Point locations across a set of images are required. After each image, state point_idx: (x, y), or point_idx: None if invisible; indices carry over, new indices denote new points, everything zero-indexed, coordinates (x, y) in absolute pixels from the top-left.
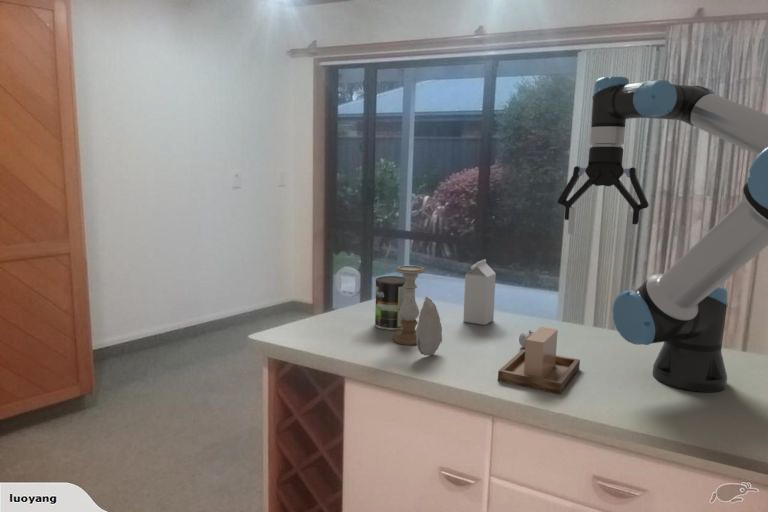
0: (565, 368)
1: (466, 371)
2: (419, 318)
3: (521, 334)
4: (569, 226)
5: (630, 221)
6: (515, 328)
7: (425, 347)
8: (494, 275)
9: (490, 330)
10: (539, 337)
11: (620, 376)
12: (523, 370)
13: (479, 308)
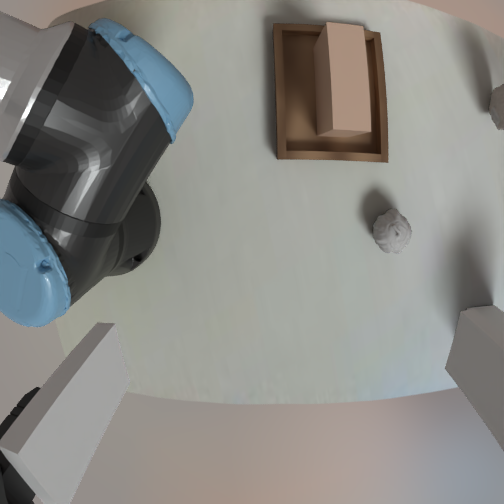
0: (296, 131)
1: (426, 58)
2: None
3: (409, 228)
4: (494, 332)
5: (51, 390)
6: (422, 326)
7: (499, 89)
8: None
9: (456, 288)
10: (346, 49)
11: (204, 165)
12: None
13: (490, 319)
